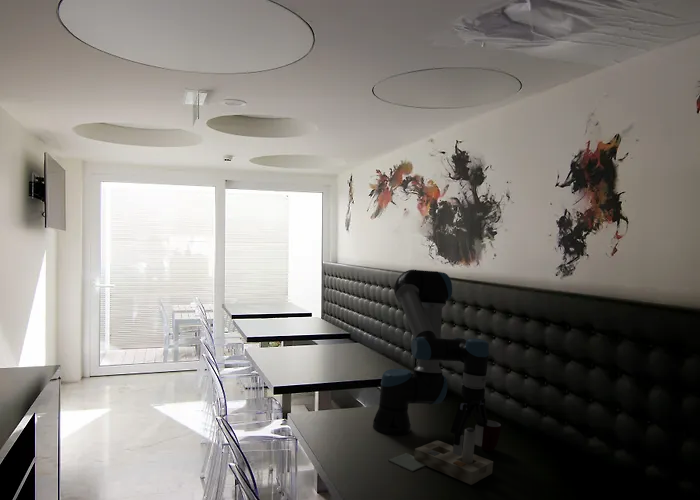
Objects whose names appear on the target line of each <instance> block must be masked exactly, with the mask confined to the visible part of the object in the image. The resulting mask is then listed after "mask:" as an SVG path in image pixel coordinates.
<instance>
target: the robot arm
mask: <svg viewBox="0 0 700 500" xmlns="http://www.w3.org/2000/svg"><path fill="white" fill-rule="evenodd" d="M393 289H394V296H395V299H396V300H397V302H399V303H400V304H401V307H402V309H403V313H404V315H405V318H406V320H407V323H408V326H409V328H410V331H411V334H412V336H413V339H412V341H411V345H410V350H411V356H412V357H413V358H414V359H416V360H417V365H416V367H414V368H413V373H412V372H411V370H410V369H405V368H392V369H387V370H386V371H384V372H383V373H382V376H381V381H380V390H379V391H380V392H379V393H380V394H379V403H378V409H377V412H376V414H375V416H374V419H373V420H372V421H373V422H372V428H373V429H374V430H376V431H377V432H378V433H379V432H380V433H381V434H385V435H389V436H390V435H391V436H404V435H408V434H410V432H411V427H412V425H411V421H410V416H409V404H421V405H422V404H426V405H436V404H437V405H438V404H441V403H442V402H443V401H444V400H445V399H446V395H447V392H448V379H447V376H446V375H444V374H443V370H442V369H441V367H440V361H444V362H461V363H463V370H462V371H463V373H462V382H461V383H462V385H461V393H460V394H461V397H462V398H464V400H463V402H458V405H457V411H456V413H455V417H454V420H453V423H452V426H451V428H450V433H451V434H453V435H454V436H453V445H452V446H453V453H454V454H456V455H459V456H461V454H462V450H463V442H464V433H463V432H464V431H465V429H466V426H467V424H468V421H469V419H471V418H472V416H473V417H474V420H475V422H476V424H475V426H474V430H475V431H476V434H475V445H476V446H477V447H481V446H482V439H483V429H484V427H487V422H488V420H489V419H488V414H487V409H486V397H485V395H486V394H485V393H486V389H485V387H486V383H487V381H488V380H487V373H488V372H487V371H488V364H489V363H488V361H489V355H490V351H489V349H490V344H489V342H488V341H487V340H484V339H481V338H475V337H474V338H471V337H470V338H467V339H465V338H461V337H454V338H451V339H450V338H442V337H441V332H442V317H443V316H442V313H443V308H444V307H445V306H447V301H449V300H450V299H451V297H452V295H453V283H452V280H451V278H450V276H449V274H447V273H445V272H441V271H436V270H435V271H433V270H422V269H409V270H406V271H404V272H402V273H401V274H400V275H399V276H398V277H397V279H396V281H395V283H394V288H393ZM485 423H486V424H485ZM483 426H484V427H483ZM475 445H474V446H475ZM481 448H482V447H481Z"/></svg>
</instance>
